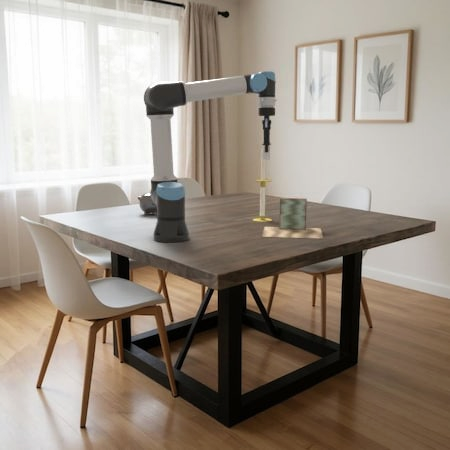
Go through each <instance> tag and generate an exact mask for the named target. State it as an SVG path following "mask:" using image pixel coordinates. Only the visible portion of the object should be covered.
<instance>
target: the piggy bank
mask: <svg viewBox="0 0 450 450" xmlns="http://www.w3.org/2000/svg"><path fill="white" fill-rule="evenodd" d="M137 200H138V204H139V207H140V210H141V211H142V212H143V215H144V216H148V215H149V214H152V216H155V217H156V216H157V206H156V205H154V204H153V202H152V200H151V197H150V192H147V193H144V194H142V195H141V196H137Z"/></svg>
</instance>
